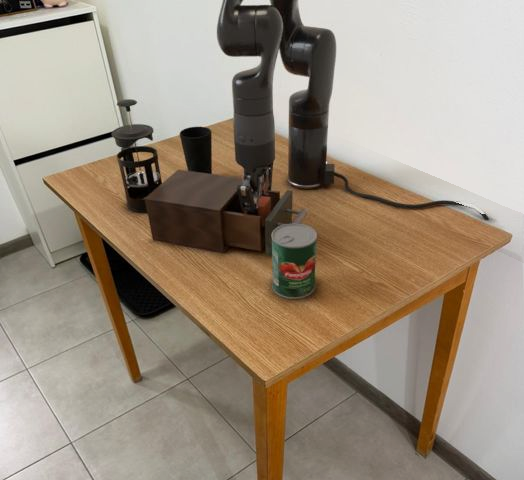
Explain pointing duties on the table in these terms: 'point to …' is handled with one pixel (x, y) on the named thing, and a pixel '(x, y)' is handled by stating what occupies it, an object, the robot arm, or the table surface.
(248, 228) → the drawer
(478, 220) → the table surface
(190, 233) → the cabinet
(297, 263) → the canned tomato
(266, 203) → the block
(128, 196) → the french press
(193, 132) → the cup
